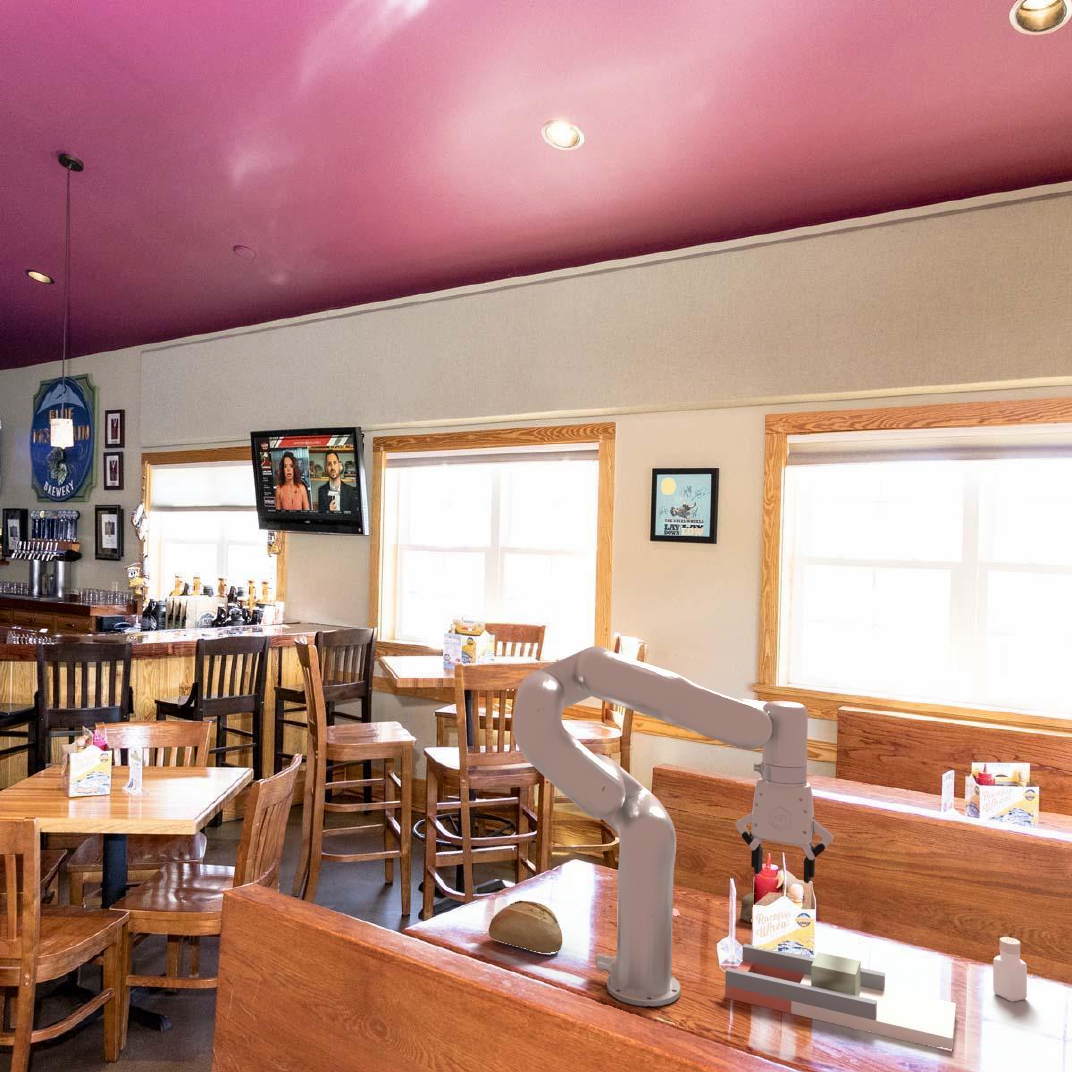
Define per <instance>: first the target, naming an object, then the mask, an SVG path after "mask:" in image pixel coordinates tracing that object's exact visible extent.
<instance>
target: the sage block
mask: <svg viewBox="0 0 1072 1072" xmlns="http://www.w3.org/2000/svg"><path fill="white" fill-rule="evenodd" d="M814 958H815V959H814V961H813V963H812V965H811V986H814V987H819V988H823V989H828V990H832V991H836V992H841V993H845V994H850V995H854V996H859V994H860V971H861V968H862V967H861V965H862V964H861V960H857V959H854V958H847V957H843V956H838V955H833V954H827V953H823V952H817V953H816V955H815V957H814Z"/></svg>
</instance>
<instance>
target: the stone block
mask: <svg viewBox="0 0 1072 1072" xmlns="http://www.w3.org/2000/svg"><path fill="white" fill-rule="evenodd" d="M754 894H755V893H753V892H752V893H751V892H749V893H747V894H746V895H745V896H743V898H742V899H741V903H740V904H741V905H740V914H739V917H740V918H739V919H741V920H743V921H745V920H746V921H749V922H748V923H751V919H752V907H753V903H754ZM746 921H745V922H746Z"/></svg>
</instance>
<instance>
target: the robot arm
mask: <svg viewBox="0 0 1072 1072" xmlns="http://www.w3.org/2000/svg"><path fill="white" fill-rule="evenodd" d="M515 697H516V698H515V705H514V708H513V709H514V710H513V715H512V716H513V717H512V731H513V738H514V741H515V743H516V745H517V748H518V751H519V752H520V753H521V755H523V757H524V758H525V759H526V760H527V762H529V764H530V765H532V767H533V768H534V769H536V770H537V772H539V773H540V774H541V775H542V776H543V777H545V778H546V779H547V780H548V781H549V782H550V783H551V784H552V785H553V786H554V787H555V788H556V789H558V791H559V792H561V793H562V794H563V795H564V796H565V797H566V798H568V799H569V800H570V801H571V802H572V803H573V804H574V805H575V806H576V807H577V808H578V809H579V810H580V811H581V812H583V813H584V814H586V815H587V816H589V817H591V818H594V819H598V820H603V822H605V823H606V824H607V825H608V826H610V827H611V828H612V829H613V830H614V831H615V832H616V833H617V836H618V842H619V843H618V845H619V847H618V848H619V849H618V850H619V851H618V853H619V854H618V869H617V891H616V894H617V895H616V897H617V901H616V903H617V927H616V952H615V953H616V955H615V954H614V955H613V956H611V955H608V954H604V953H599V952H598V953H596V955H595V958H594V959H595V960H594V963H595V966H596V968H595V969H596V970H597V971H599V972H606V973H608V974H609V976H608V977H607V979H606V990H607V989H608V990H607V992H608V991H609V992H608V993H609V994H610V995H611V996H612V997H613V998H615V1000H618V1001H620V1002H623V1003H625V1004H629V1005H633V1006H638V1007H647V1006H651V1007H661V1006H665V1005H670V1004H672V1003H674V1002H675V1001H676V1000H678V999H679V997H680V995H681V993H682V992H681V987H682V986H681V984H680V982H679V980H677V978H675V977H674V976H673V974H672V972H673V967H672V966H673V926H674V925H673V923H674V922H673V921H674V920H673V908H674V875H675V874H674V871H675V864H676V863H675V862H676V861H675V860H676V854H677V833H676V829H675V825H674V823H673V820H672V818H671V815H670V814H669V812H668V811H667V809H665V807H664V805H663V804H662V803H661V801H660V799H659V798H658V797H656V796H655V795H654V794H653V793H652V792H651V791H650V790H648V789H647V788H646V787H645V785H643V784H641V783H640V782H639V781H638V780H637V779H636V778H634V777H633V776H632V775H631V774H630V773H629V772H628V771H626V770H625V769H624V768H623V767H622V766H620V765H619V764H618V763H617V762H615V761H614V760H613V759H611V758H610V757H608V756H607V755H604V754H601V753H593V752H592V751H591V750H590V749H589V748H587V747H586V746H585V745H583V743H582V742H581V741H579V740H578V739H577V738H576V737H575V736H573V734H571V733H570V732H569V731H568V730H567V729H566V728H565V726H564V724H563V721H562V716H563V712H564V710H565V709H567V708H569V707H572V706H573V705H576V704H577V703H581V702H582V701H584V700H587V699H589V698H590V697H592V698H595V699H597V700H601V701H604V702H607V703H609V704H612V705H616V706H619V707H623V708H624V709H628V710H631V711H634V712H637V713H638V714H639V713H640V714H642V715H645V716H648V717H651V718H653V719H656V720H659V721H661V722H664V723H666V724H668V725H671V726H675V727H678V728H682V729H685V730H687V731H690V732H693V733H695V734H698V735H700V736H703V737H705V738H709V739H711V740H713V741H717V742H720V743H723V744H727V745H729V746H731V747H735V748H738V749H741V750H744V751H745V750H746V751H754V750H758V749H761V748H762V753H761V754H762V757H761V758H762V759H761V760H762V761H761V762H759V763H754V764H753V771H754V772H757V773H759V774H760V777H759V778H758V779H757V780H756V783H755V788H754V793H753V795H754V796H753V801H752V812H751V813H748V814H747V815H745V816H743V817H742V818H740V819H738V820H736V822H735V823H734V825H735V827H736V830H738V832H739V834H740V835H741V839H743V840H744V842H745V843H746V844H747V845H748V848H749V850H751V855H750V856H751V862H750V863H751V864H750V865H751V868H753V869H754V870H753V873H754V875H759V874H760V873H761V872H762V870H763V850H764V849H763V848H762V846H761V843H762V842H763V841H767V842H774V843H778V844H779V843H780V844H784V845H785V844H786V845H791V846H799V847H801V849H802V850H803V852H804V853H805V858H804V859H803V882H804V883H805V884H809V883H810V881H811V879H812V878H815V873H816V872H815V871H816V870H815V869H816V864H815V863H816V858H817V857H818V856H819V855H820V854H821V853H823V852H824V851H825V850H826V848H828V846H829V845H830V844H831V843H832V841H833V840H834V837H835V836H834V835H833V833H831V832H830V831H829V830H828V829H826V828H825V827H824V826H823V825H822V824H820V823H819V822H818V821H817V820H816V819H815V808H814V798H813V797H814V795H813V791H812V787H811V786H812V785H811V784H810V783H809V782H808V775H807V774H808V729H809V728H808V726H809V725H808V724H809V723H808V722H809V721H808V720H809V716H808V710H807V708H806V706H805V705H804V704H802V703H799V702H795V701H789V700H788V701H786V700H785V701H784V700H773V701H763V700H754V699H749V698H743V697H734V698H732V697H730V696H726V695H723V694H721V693H718V692H715V691H712V690H710V689H708V688H705V687H703V686H701V685H699V684H696V683H694V682H692V681H691V680H689V679H688V678H686V677H684V676H682V675H680V674H677V673H675V672H673V671H670V670H668V669H663V668H661V667H658V666H654V665H651V664H649V663H646V662H642V661H640V660H637V659H634V658H632V657H628V656H625V655H623V654H620V653H617V652H614V651H612V650H610V649H609V648H607V647H604V646H601V645H600V646H597V645H595V646H593V645H592V646H590V647H589V646H588V647H587V648H584V649H582V650H580V651H578V652H576V653H573V654H572V655H570V656H569V655H568V656H567V657H565V658H563V659H560V660H558V661H555V662H553V663H551V664H549V665H546V666H544V667H542V668H540V669H537V670H535V671H533V672H531V673H529V674H528V675H527V676H525V677H524V678H523V679H522V681H521V682H520V684H519V686H518V689H517V692H516V696H515ZM750 823H751V824H750ZM748 824H750V825H751V828H750V829H751V832H750V831H749V829H748V826H747V825H748ZM815 833H816V834H817V835H819V837H821V841H820V842H819V843H817V844H816V845H814V844H813V842H812V840H813V839H814V837H815Z"/></svg>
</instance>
